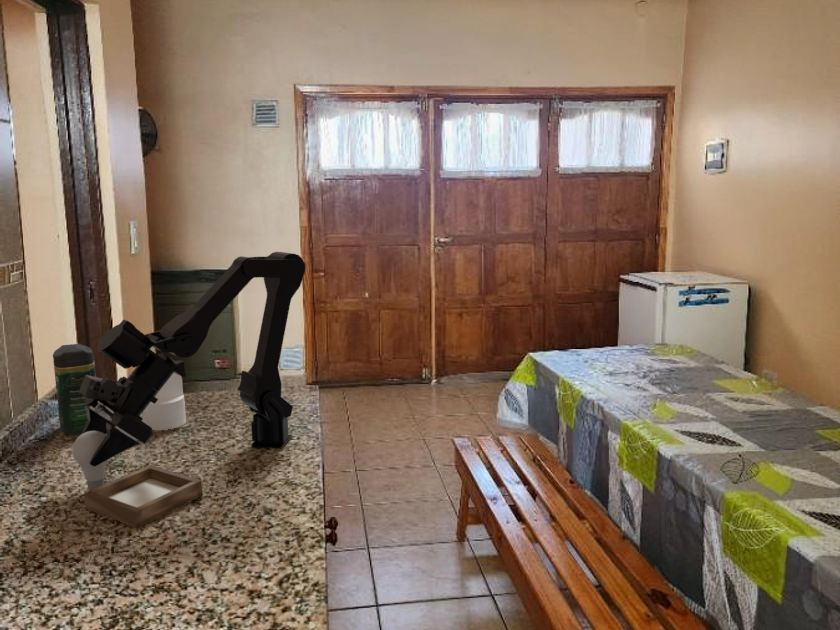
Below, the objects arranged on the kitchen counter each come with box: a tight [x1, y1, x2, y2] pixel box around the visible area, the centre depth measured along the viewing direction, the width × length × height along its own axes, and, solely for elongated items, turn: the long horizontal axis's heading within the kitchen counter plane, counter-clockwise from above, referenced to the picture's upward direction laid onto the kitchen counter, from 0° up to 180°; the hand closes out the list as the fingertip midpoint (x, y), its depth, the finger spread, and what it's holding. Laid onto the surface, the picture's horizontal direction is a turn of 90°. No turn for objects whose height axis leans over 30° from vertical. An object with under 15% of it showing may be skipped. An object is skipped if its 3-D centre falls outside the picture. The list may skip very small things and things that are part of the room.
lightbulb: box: [72, 431, 109, 491], centre depth 117 cm, size 6×6×11 cm
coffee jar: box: [52, 343, 97, 435], centre depth 148 cm, size 10×8×19 cm
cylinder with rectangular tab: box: [141, 373, 187, 431], centre depth 151 cm, size 9×9×12 cm
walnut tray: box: [83, 464, 203, 529], centre depth 114 cm, size 13×13×3 cm
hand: (84, 458), depth 116 cm, fingers open, 8 cm apart
